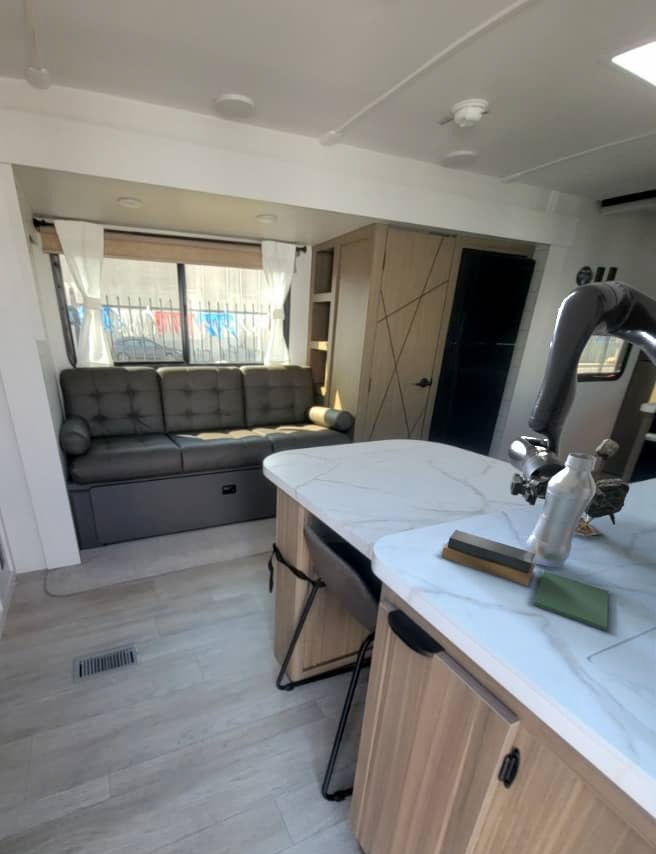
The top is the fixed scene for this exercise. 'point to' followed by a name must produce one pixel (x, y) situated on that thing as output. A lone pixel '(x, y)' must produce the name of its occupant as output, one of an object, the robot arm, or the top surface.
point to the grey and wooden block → (490, 556)
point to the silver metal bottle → (562, 510)
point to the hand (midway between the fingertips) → (562, 504)
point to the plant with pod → (605, 492)
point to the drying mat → (573, 599)
